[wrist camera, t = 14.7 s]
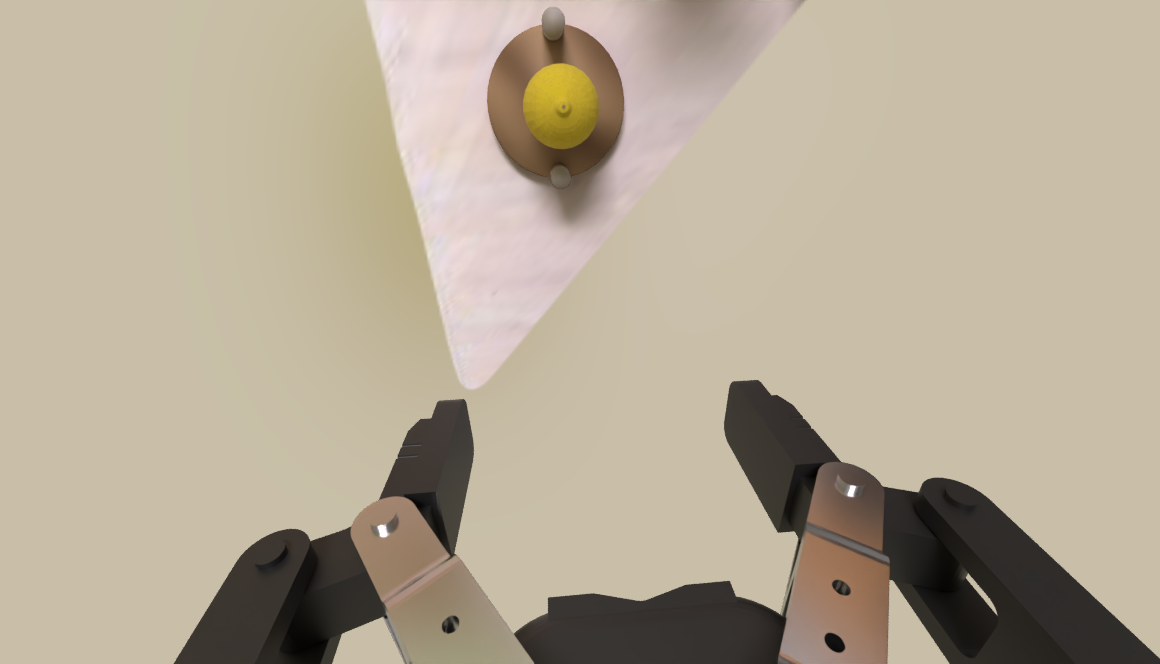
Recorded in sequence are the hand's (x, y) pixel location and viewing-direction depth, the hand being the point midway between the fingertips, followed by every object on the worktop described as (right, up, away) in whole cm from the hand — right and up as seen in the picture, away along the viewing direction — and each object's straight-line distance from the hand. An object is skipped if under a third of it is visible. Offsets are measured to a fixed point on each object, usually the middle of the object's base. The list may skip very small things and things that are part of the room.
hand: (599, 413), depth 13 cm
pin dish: (-3, +21, +23) cm, 31 cm away
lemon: (-2, +21, +22) cm, 30 cm away
